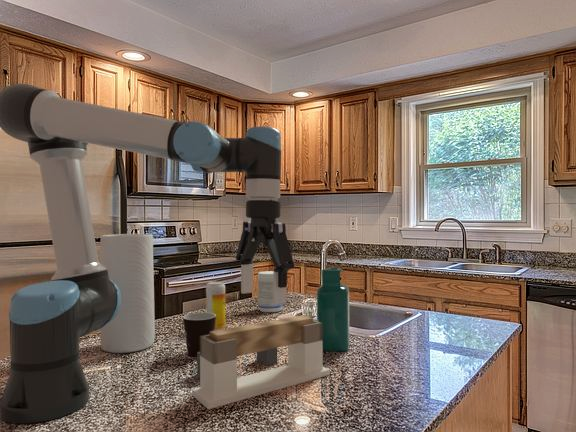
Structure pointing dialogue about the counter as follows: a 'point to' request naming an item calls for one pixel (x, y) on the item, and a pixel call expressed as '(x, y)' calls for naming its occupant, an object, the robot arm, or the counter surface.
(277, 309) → the supplement tub
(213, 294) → the white yellow bottle
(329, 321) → the green square bottle
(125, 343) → the paper towel roll
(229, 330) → the oak rail
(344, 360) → the counter surface
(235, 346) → the bracket stand
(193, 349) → the coffee mug
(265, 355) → the blocks
